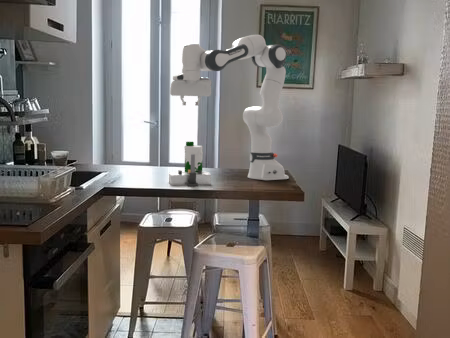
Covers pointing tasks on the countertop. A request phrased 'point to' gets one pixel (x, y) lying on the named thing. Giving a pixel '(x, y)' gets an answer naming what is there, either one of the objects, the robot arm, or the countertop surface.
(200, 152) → the soya milk
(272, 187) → the countertop surface
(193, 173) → the grey stepped post
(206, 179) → the breaker box
